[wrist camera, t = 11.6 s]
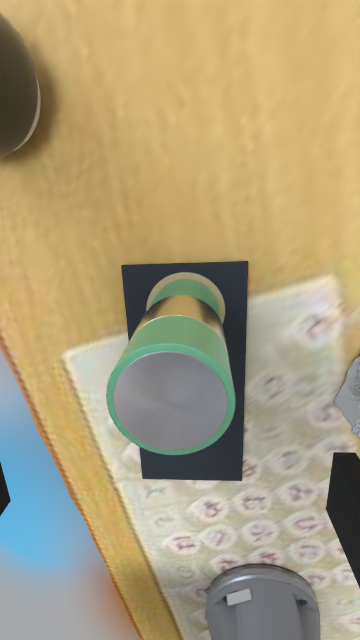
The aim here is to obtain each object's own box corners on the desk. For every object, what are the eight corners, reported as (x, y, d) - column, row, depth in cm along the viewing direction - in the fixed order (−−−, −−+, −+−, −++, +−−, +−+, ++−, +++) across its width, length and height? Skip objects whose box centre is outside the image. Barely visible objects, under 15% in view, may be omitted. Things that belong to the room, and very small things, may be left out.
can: (235, 458, 16) (237, 342, 14) (112, 456, 17) (96, 343, 15) (219, 342, 32) (219, 277, 29) (154, 343, 32) (149, 279, 30)
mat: (241, 478, 37) (241, 481, 37) (143, 476, 38) (142, 479, 38) (247, 261, 29) (248, 261, 29) (122, 265, 30) (121, 265, 30)
